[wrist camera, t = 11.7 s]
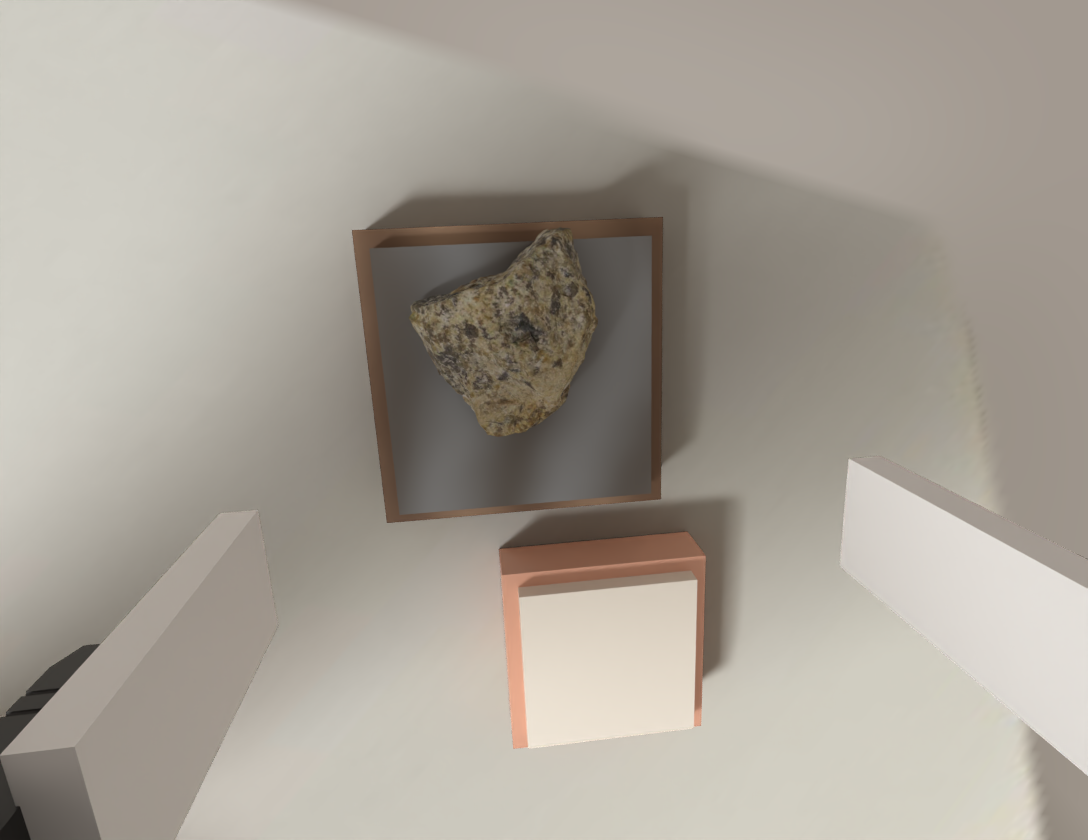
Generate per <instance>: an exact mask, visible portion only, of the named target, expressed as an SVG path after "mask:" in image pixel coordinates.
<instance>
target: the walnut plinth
mask: <svg viewBox="0 0 1088 840" xmlns="http://www.w3.org/2000/svg"><path fill="white" fill-rule="evenodd" d="M560 227H562V228H570V230H571V232H572V235H573V242H574V249H575V250H576V251H577V253H578V258H579V263H580V266H581V271H582V275H583V276H584V278H585V279H586V281H587V288H588V289H589V291H590V292H591V293H592V295H593V300H594V303H595V316H596V317H597V319H598V325H597V327H596V328H595V330H594V332H593V334H592V339H591V341H590V343H589V345H588V348H587V350H586V352H585V359H584V362H583V363H582V364H581V365H580V366H579V368H578V370H577V372H576V373H575V375H574V376H573V378H572V381H571V382H570V389H569V391H568V397H567V399H566V402H565V403H564V404H563V405H562V406H560V408H559V409H558V410H556V411H555V412H554V413H553V414H551V415H550V416H548V417H547V418H546V419H545V420H543V421H542V422H540V423H539V424H538V425H535V426H534V427H531V428H529V429H528V430H527V431H526V432H522V433H514V434H511V435H507V436H501V437H496V436H492V435H487V433H486V431H485V430H484V429H483V428H482V427H481V426H480V424H479V422H478V421H477V417H476V414H475V412H474V411H473V410H472V409H471V406H470V405H468V404H467V403H466V402H465V401H464V399H463V395H460V394H458V393H457V392H456V391H455V390H454V389H453V388H452V386H451V385H450V384H448V383H447V382H446V381H445V379H444V377H443V376H441V375H439V373H438V370H437V368H436V366H435V364H434V363H433V361H432V359H431V357H430V356H429V354H428V352H427V350H426V347H425V346H424V344H423V341H422V339H421V337H420V336H419V334H418V333H417V332H416V331H415V329H414V327H412V323H411V321H410V320H409V316H410V315H411V314H412V312H411V307H410V306H411V305H412V304H413V302H414V301H418V300H423V299H425V298H428V297H430V296H433V295H442V294H449V293H451V292H452V291H454V290H455V289H457V288H459V287H460V286H461V285H465V284H467V283H470V282H471V281H472V280H475V279H479V278H480V277H487V276H489V275H497V274H500V273H503V272H505V271H506V270H507V269H508V268H509V267H510V266H511V264H512V262H513V260H515V259H516V258H517V257H518V255H519V254H520V253H521V252H522V251H523V250H524V249H525V248H526V247H528V246H529V245H531V244H532V243H533V242H534V241H535V239H536V237H537V236H538V235H539V234H540V233H541V232H542V231H543V230H546V229H548V230H550V229H556V228H560ZM352 235H353V243H354V252H355V260H356V268H357V277H358V285H359V293H360V302H361V310H362V318H363V327H364V335H365V343H366V352H367V360H368V368H369V377H370V385H371V394H372V402H373V410H374V419H375V427H376V435H377V444H378V452H379V460H380V469H381V477H382V485H383V494H384V502H385V510H386V519H387V523H393V522H404V521H416V520H427V519H439V518H451V517H462V516H474V515H485V514H497V513H508V512H520V511H531V510H543V509H554V508H566V507H577V506H589V505H600V504H612V503H623V502H635V501H646V500H658V499H661V407H662V255H663V217H652V218H629V219H605V220H582V221H558V222H535V223H511V224H488V225H464V226H441V227H417V228H394V229H370V230H352Z"/></svg>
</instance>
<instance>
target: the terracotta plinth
mask: <svg viewBox="0 0 1088 840" xmlns="http://www.w3.org/2000/svg"><path fill="white" fill-rule="evenodd" d="M499 557H500V572H501V586H502V601H503V615H504V630H505V644H506V659H507V673H508V688H509V702H510V716H511V727H512V738H513V749H515V748H524V747H528V749H530V748H538V747H547V746H555V745H563V744H571V743H579V742H587V741H595V740H603V739H611V738H620V737H628V736H636V735H644V734H652V733H660V732H668V731H676V730H685V729H693V728H694V726H701V709H702V673H703V637H704V601H705V565H706V555H705V554H704V553H703V551H702V550H701V549H700V547H699V546H698V545H697V543H696V542H695V541H694V539H693V538H692V537H691V536H690V534H689V533H688V532H677V533H667V534H656V535H645V536H634V537H623V538H612V539H602V540H591V541H580V542H569V543H558V544H547V545H536V546H526V547H515V548H504V549H499Z"/></svg>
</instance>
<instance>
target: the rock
mask: <svg viewBox="0 0 1088 840" xmlns="http://www.w3.org/2000/svg"><path fill="white" fill-rule="evenodd" d="M410 307H411V312H412V314H411V315H410V316H409V320H410V321H411V323H412V327H414V329H415V331H416V332H417V333H418V334H419V336H420V337H421V339H422V341H423V344H424V346H425V347H426V350H427V352H428V354H429V356H430V357H431V359H432V361H433V363H434V364H435V366H436V368H437V370H438V373H439V375H441V376H443V377H444V379H445V381H446V382H447V383H448V384H450V385H451V386H452V388H453V389H454V390H455V391H456V392H457V393H458V394H460V395H463V399H464V401H465V402H466V403H467V404H468V405H470V406H471V409H472V410H473V411H474V412H475V414H476V417H477V421H478V422H479V424H480V426H481V427H482V428H483V429H484V430H485V431H486V433H487V435H492V436H496V437H501V436H507V435H511V434H514V433H522V432H526V431H527V430H528V429H529V428H531V427H534V426H535V425H538V424H539V423H540V422H542V421H543V420H545V419H546V418H547V417H548V416H550V415H551V414H553V413H554V412H555V411H556V410H558V409H559V408H560V406H562V405H563V404H564V403H565V402H566V399H567V397H568V391H569V389H570V382H571V381H572V378H573V376H574V375H575V373H576V372H577V370H578V368H579V366H580V365H581V364H582V363H583V362H584V359H585V352H586V350H587V348H588V345H589V343H590V341H591V339H592V334H593V332H594V330H595V328H596V327H597V325H598V319H597V317H596V316H595V303H594V300H593V295H592V293H591V292H590V291H589V289H588V288H587V281H586V279H585V278H584V276H583V275H582V271H581V266H580V263H579V258H578V253H577V251H576V250H575V249H574V242H573V235H572V232H571V230H570V228H562V227H560V228H556V229H550V230H548V229H546V230H543V231H542V232H541V233H540V234H539V235H538V236H537V237H536V239H535V241H534V242H533V243H532V244H531V245H529V246H528V247H526V248H525V249H524V250H523V251H522V252H521V253H520V254H519V255H518V257H517V258H516V259H515V260H513V262H512V264H511V266H510V267H509V268H508V269H507V270H506V271H505V272H503V273H500V274H497V275H489V276H487V277H480V278H479V279H475V280H472V281H471V282H470V283H467V284H465V285H461V286H460V287H459V288H457V289H455V290H454V291H452V292H451V293H449V294H442V295H433V296H430V297H428V298H425V299H423V300H418V301H414V302H413V304H412V305H411V306H410Z"/></svg>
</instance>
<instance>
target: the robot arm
mask: <svg viewBox="0 0 1088 840" xmlns="http://www.w3.org/2000/svg"><path fill="white" fill-rule="evenodd" d="M840 567H841V568H842V569H843V570H844V571H846V572H847V573H848V574H849V575H850V576H852V577H853V578H854V579H855V580H856V581H858V582H859V583H860V584H861V585H862V586H863V587H865V588H866V589H867V590H868V591H869V592H871V593H872V594H873V595H874V596H875V597H876V598H878V599H879V600H880V601H881V602H882V603H884V604H885V605H886V606H887V607H888V608H890V609H891V610H892V611H893V612H894V613H895V614H897V615H898V616H899V617H900V618H901V619H903V620H904V621H905V622H906V623H907V624H908V625H910V626H911V627H912V628H913V629H914V630H916V631H917V632H918V633H919V634H920V635H922V636H923V637H924V638H925V639H926V640H927V641H929V642H930V643H931V644H932V645H933V646H935V647H936V648H937V649H938V650H939V651H940V652H942V653H943V654H944V655H945V656H946V657H948V658H949V659H950V660H951V661H952V662H954V663H955V664H956V665H957V666H958V667H959V668H961V669H962V670H963V671H964V672H965V673H967V674H968V675H969V676H970V677H971V678H972V679H974V680H975V681H976V682H977V683H978V684H980V685H981V686H982V687H983V688H984V689H986V690H987V691H988V692H989V693H990V694H991V695H993V696H994V697H995V698H996V699H997V700H999V701H1000V702H1001V703H1002V704H1003V705H1004V706H1006V707H1007V708H1008V709H1009V710H1010V711H1012V712H1013V713H1014V714H1015V715H1016V716H1018V717H1019V718H1020V719H1021V720H1022V721H1023V722H1025V723H1026V724H1027V725H1028V726H1029V727H1031V728H1032V729H1033V730H1034V731H1035V732H1036V733H1038V734H1039V735H1040V736H1041V737H1042V738H1044V739H1045V740H1046V741H1047V742H1048V743H1050V744H1051V745H1052V746H1053V747H1054V748H1055V749H1057V750H1058V751H1059V752H1060V753H1061V754H1063V755H1064V756H1065V757H1066V758H1067V759H1069V760H1070V761H1071V762H1072V763H1073V764H1074V765H1076V766H1077V767H1078V768H1079V769H1080V770H1082V771H1083V772H1084V773H1085V774H1086V775H1087V776H1088V559H1086V558H1084V557H1082V556H1080V555H1078V554H1076V553H1074V552H1072V551H1069V550H1068V549H1066V548H1064V547H1062V546H1059V545H1058V544H1056V543H1054V542H1052V541H1050V540H1047V539H1046V538H1044V537H1042V536H1040V535H1038V534H1036V533H1034V532H1032V531H1030V530H1028V529H1026V528H1023V527H1022V526H1020V525H1018V524H1016V523H1014V522H1012V521H1010V520H1008V519H1006V518H1004V517H1002V516H1000V515H998V514H996V513H994V512H992V511H990V510H988V509H986V508H983V507H981V506H979V505H977V504H975V503H973V502H971V501H969V500H967V499H965V498H963V497H961V496H959V495H957V494H955V493H953V492H951V491H949V490H947V489H945V488H943V487H941V486H939V485H937V484H935V483H933V482H931V481H929V480H927V479H925V478H923V477H921V476H919V475H917V474H915V473H913V472H911V471H909V470H907V469H905V468H903V467H901V466H899V465H897V464H895V463H893V462H891V461H889V460H887V459H885V458H883V457H881V456H871V457H860V458H849V461H848V473H847V484H846V496H845V508H844V519H843V531H842V542H841V554H840ZM277 627H278V620H277V615H276V609H275V603H274V597H273V592H272V586H271V580H270V575H269V569H268V563H267V558H266V552H265V546H264V540H263V535H262V529H261V523H260V518H259V512H258V510H249V511H237V512H226V513H219V514H218V516H217V517H216V518H215V519H214V520H213V521H212V522H211V523H210V524H209V525H208V527H207V528H206V529H205V530H204V531H203V532H202V533H201V534H200V535H199V536H198V538H197V539H196V540H195V541H194V542H193V543H192V544H191V545H190V546H189V547H188V549H187V550H186V551H185V552H184V553H183V554H182V555H181V556H180V557H179V558H178V560H177V561H176V562H175V563H174V564H173V565H172V566H171V567H170V568H169V569H168V571H167V572H166V573H165V574H164V575H163V576H162V577H161V578H160V579H159V580H158V582H157V583H156V584H155V585H154V586H153V587H152V588H151V589H150V590H149V591H148V593H147V594H146V595H145V596H144V597H143V598H142V599H141V600H140V601H139V602H138V604H137V605H136V606H135V607H134V608H133V609H132V610H131V611H130V612H129V613H128V615H127V616H126V617H125V618H124V619H123V620H122V621H121V622H120V623H119V624H118V626H117V627H116V628H115V629H114V630H113V631H112V632H111V633H110V634H109V635H108V637H107V638H106V639H105V640H104V641H103V642H102V643H101V644H96V645H86V646H83V647H81V648H79V649H78V650H76V651H75V652H73V653H72V654H70V655H69V656H67V657H65V658H64V659H62V660H61V661H59V662H58V663H56V664H55V665H53V666H52V667H50V668H49V669H48V670H47V671H46V672H45V673H44V674H43V675H42V676H41V677H40V678H39V679H38V680H37V681H36V682H35V683H34V684H33V685H32V686H31V687H30V688H29V689H28V690H27V691H26V696H23V697H21V698H20V699H19V700H18V701H17V702H16V703H15V704H14V705H13V706H12V707H11V708H10V709H9V710H8V711H7V712H6V717H1V718H0V840H175V838H176V836H177V834H178V832H179V830H180V828H181V826H182V824H183V822H184V820H185V818H186V816H187V814H188V812H189V810H190V807H191V805H192V803H193V801H194V799H195V797H196V795H197V793H198V791H199V789H200V787H201V785H202V783H203V781H204V778H205V776H206V774H207V772H208V770H209V768H210V766H211V764H212V762H213V760H214V758H215V756H216V754H217V752H218V750H219V747H220V745H221V743H222V741H223V739H224V737H225V735H226V733H227V731H228V729H229V727H230V725H231V723H232V721H233V719H234V716H235V714H236V712H237V710H238V708H239V706H240V704H241V702H242V700H243V698H244V696H245V694H246V692H247V690H248V687H249V685H250V683H251V681H252V679H253V677H254V675H255V673H256V671H257V669H258V667H259V665H260V663H261V661H262V659H263V656H264V654H265V652H266V650H267V648H268V646H269V644H270V642H271V640H272V638H273V636H274V634H275V632H276V630H277Z"/></svg>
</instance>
